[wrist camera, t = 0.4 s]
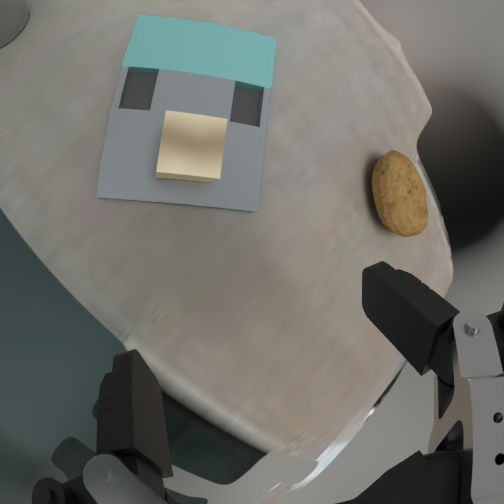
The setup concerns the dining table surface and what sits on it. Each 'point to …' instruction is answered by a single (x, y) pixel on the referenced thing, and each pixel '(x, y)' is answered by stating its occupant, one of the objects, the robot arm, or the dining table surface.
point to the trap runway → (188, 110)
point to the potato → (399, 195)
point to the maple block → (191, 148)
